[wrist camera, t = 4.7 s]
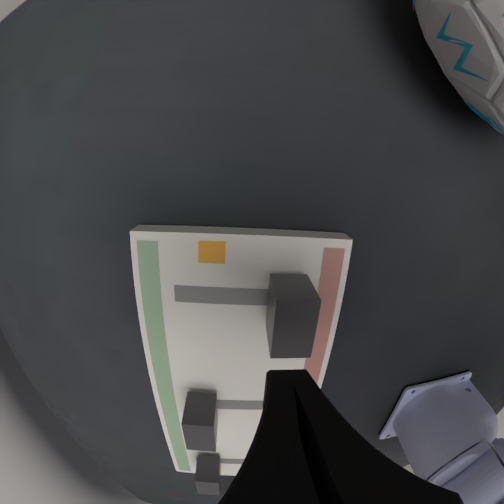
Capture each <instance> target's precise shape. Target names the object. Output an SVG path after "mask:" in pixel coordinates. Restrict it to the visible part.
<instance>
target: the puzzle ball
mask: <svg viewBox="0 0 504 504" xmlns="http://www.w3.org/2000/svg"><path fill="white" fill-rule="evenodd" d="M414 3H415V10H416V13H417V17H418V20H419V24H420V26H421V29H422V32H423V35H424V38H425V40H426V42H427V44H428V45H429V47H430V49H431V50H432V52H433V54H434V56H435V58H436V59H437V61H438V63H439V65H440V67H441V69H442V71H443V73H444V74H445V76H446V77H447V78H448V80H449V81H450V82H451V84H452V85H453V86H454V88H455V89H456V90H457V92H458V93H459V94H460V96H461V97H462V98H463V99H464V100H463V101H464V102H465V103H466V104H467V105H468V107H469V108H470V109H471V110H472V111H474V112H475V113H476V114H477V115H478V116H479V117H480V118H482V119H483V120H484V119H485V120H486V121H487V122H488V123H489V124H490V125H491V126H492V127H493V128H494V129H495V130H497V131H498V132H500V133H502V134H503V135H504V0H413V11H414Z"/></svg>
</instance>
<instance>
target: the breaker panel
mask: <svg viewBox="0 0 504 504" xmlns="http://www.w3.org/2000/svg"><path fill="white" fill-rule="evenodd" d="M352 241H353V240H352V239H351V238H350V237H348V236H347V235H346V234H345V233H337V232H320V231H302V230H282V229H261V228H236V227H208V226H174V225H138V226H136V227H135V228H133V229H132V230H131V231H130V243H131V256H132V267H133V277H134V286H135V294H136V301H137V309H138V316H139V322H140V328H141V334H142V340H143V346H144V351H145V356H146V361H147V366H148V371H149V376H150V380H151V385H152V389H153V393H154V397H155V401H156V405H157V409H158V413H159V417H160V420H161V424H162V427H163V431H164V434H165V438H166V441H167V444H168V447H169V450H170V454H171V457H172V460H173V463H174V466H175V468H176V471H180V472H189V473H196V464H197V455H207V456H220V466H221V475H233V476H236V475H237V473H238V471H239V469H240V467H241V465H242V463H243V461H244V459H245V457H246V455H247V453H248V451H249V448H250V446H251V444H252V441H253V439H254V436H255V433H256V430H257V427H258V424H259V422H260V418H261V415H262V411H263V399H264V390H265V381H266V372H268V371H269V370H294V369H306V370H307V371H308V372H309V374H310V375H311V376H312V378H313V379H314V381H315V382H316V384H317V385H318V386H319V388H320V389H321V386H322V383H323V379H324V376H325V372H326V368H327V364H328V361H329V357H330V353H331V349H332V345H333V340H334V336H335V332H336V327H337V323H338V318H339V314H340V309H341V304H342V299H343V294H344V289H345V284H346V278H347V272H348V267H349V261H350V255H351V248H352ZM270 273H276V274H307V275H308V276H309V278H310V280H311V282H312V284H313V286H314V287H315V289H316V291H317V293H318V295H319V297H320V299H321V307H320V312H319V318H318V323H317V329H316V334H315V339H314V344H313V349H312V354H311V358H270V354H269V347H268V339H267V332H266V314H267V303H268V291H269V279H270ZM188 391H189V392H202V393H217V413H218V426H217V442H216V452H211V451H198V450H188V449H187V448H186V444H185V439H184V435H183V430H182V425H181V423H182V417H183V412H184V407H185V402H186V397H187V392H188Z"/></svg>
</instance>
